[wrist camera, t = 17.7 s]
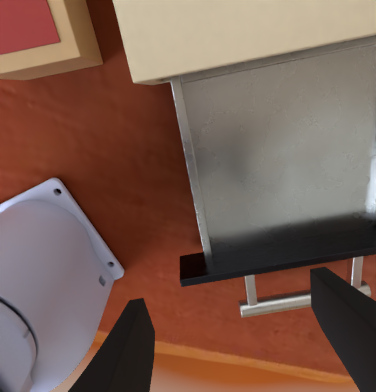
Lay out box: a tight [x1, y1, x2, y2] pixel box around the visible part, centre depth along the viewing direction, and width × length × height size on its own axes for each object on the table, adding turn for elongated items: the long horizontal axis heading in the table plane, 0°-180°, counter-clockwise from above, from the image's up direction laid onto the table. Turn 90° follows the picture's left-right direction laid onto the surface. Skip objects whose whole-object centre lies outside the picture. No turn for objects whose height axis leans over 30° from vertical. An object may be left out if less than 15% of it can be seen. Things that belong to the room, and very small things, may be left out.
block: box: [0, 0, 103, 80], centre depth 13 cm, size 6×5×4 cm
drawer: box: [169, 35, 376, 318], centre depth 17 cm, size 18×17×3 cm
